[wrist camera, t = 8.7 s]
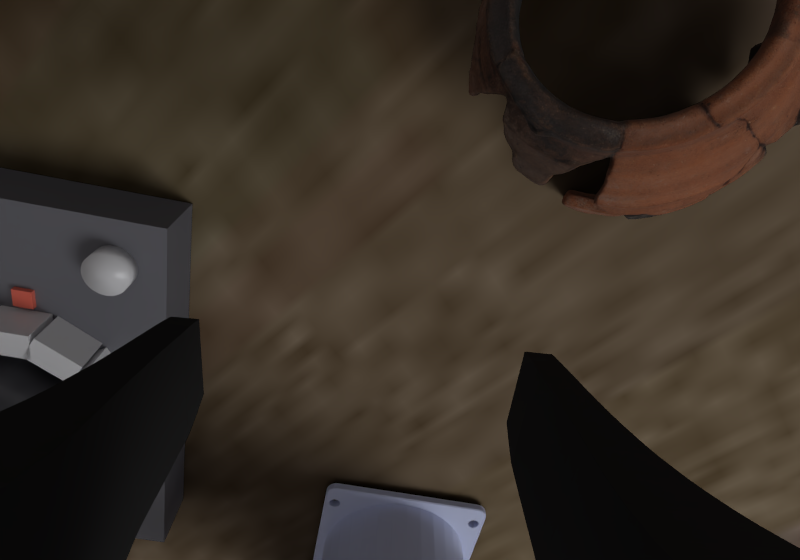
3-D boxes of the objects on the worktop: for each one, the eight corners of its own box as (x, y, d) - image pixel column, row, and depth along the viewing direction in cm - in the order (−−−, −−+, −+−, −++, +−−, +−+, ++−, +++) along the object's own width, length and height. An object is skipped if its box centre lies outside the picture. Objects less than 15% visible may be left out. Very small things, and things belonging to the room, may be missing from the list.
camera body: (183, 498, 29) (151, 571, 25) (-23, 468, 28) (-87, 539, 24) (192, 203, 21) (149, 247, 18) (-87, 151, 20) (-191, 185, 17)
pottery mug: (486, 225, 22) (444, 197, 14) (498, -19, 22) (463, -185, 14) (848, 234, 19) (1057, 203, 11) (866, -53, 19) (1092, -296, 11)
